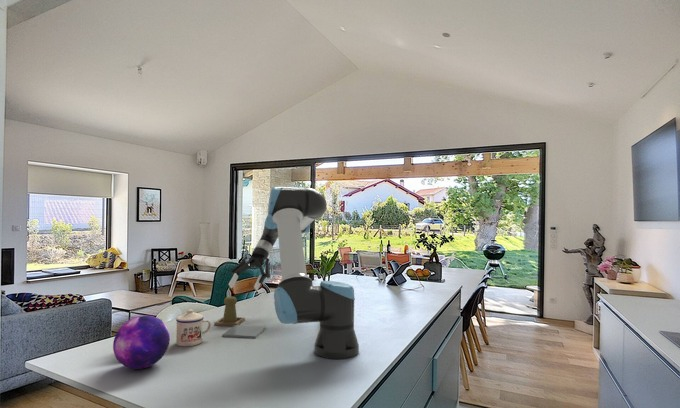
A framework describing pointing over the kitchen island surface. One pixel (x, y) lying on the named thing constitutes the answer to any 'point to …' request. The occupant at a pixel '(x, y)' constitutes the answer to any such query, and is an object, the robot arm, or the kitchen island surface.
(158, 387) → the kitchen island surface
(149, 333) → the decorative orb
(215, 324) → the walnut collar
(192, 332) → the teacup with lid
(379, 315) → the kitchen island surface
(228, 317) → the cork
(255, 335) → the slate coaster
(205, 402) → the kitchen island surface
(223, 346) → the kitchen island surface
